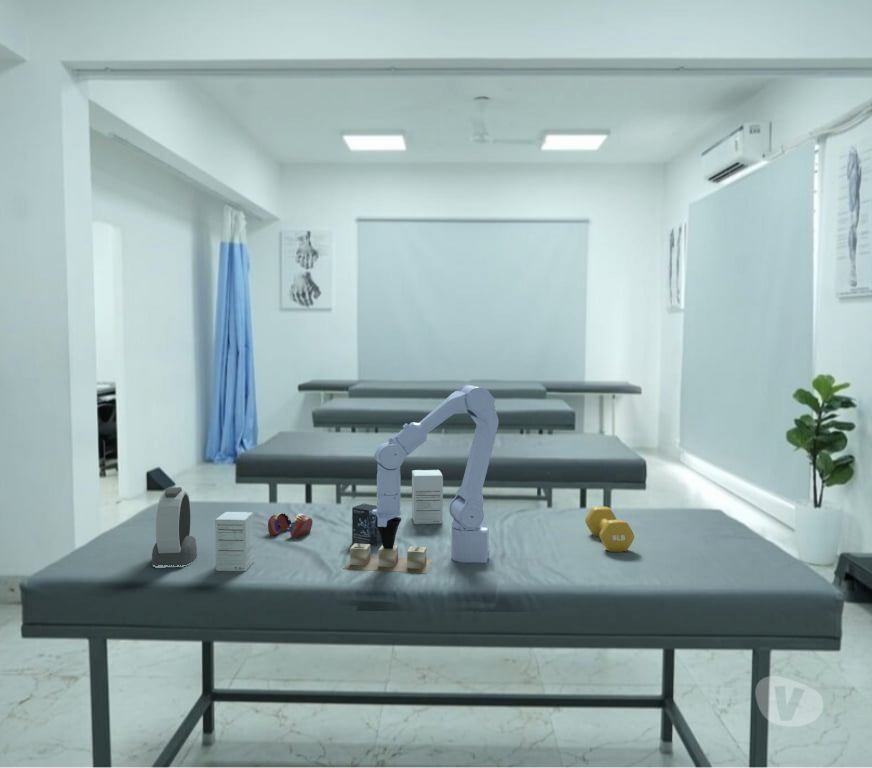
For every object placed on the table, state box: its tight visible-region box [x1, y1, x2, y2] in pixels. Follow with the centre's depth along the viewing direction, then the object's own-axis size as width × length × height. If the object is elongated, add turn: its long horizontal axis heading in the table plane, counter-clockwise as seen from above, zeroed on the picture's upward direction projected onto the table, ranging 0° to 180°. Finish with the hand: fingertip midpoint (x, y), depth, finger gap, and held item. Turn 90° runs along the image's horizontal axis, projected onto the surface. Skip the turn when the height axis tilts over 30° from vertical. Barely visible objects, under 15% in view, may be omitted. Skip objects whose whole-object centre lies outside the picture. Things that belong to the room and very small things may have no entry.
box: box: [351, 503, 383, 548], centre depth 182 cm, size 8×6×11 cm
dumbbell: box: [584, 506, 635, 553], centre depth 186 cm, size 19×9×8 cm, turn 2°
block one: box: [406, 546, 427, 569], centre depth 163 cm, size 4×4×4 cm
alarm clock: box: [151, 486, 198, 566], centre depth 169 cm, size 16×10×18 cm, turn 9°
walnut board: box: [342, 555, 433, 574], centre depth 164 cm, size 20×10×1 cm, turn 81°
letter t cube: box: [349, 543, 371, 565], centre depth 165 cm, size 4×4×4 cm
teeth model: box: [267, 512, 313, 540], centre depth 193 cm, size 8×6×12 cm
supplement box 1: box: [214, 511, 255, 572], centre depth 164 cm, size 7×7×13 cm
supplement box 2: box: [411, 469, 444, 525], centre depth 208 cm, size 9×9×15 cm
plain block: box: [378, 544, 399, 567], centre depth 164 cm, size 4×4×4 cm
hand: (388, 548), depth 164 cm, fingers closed, pressing on plain block
